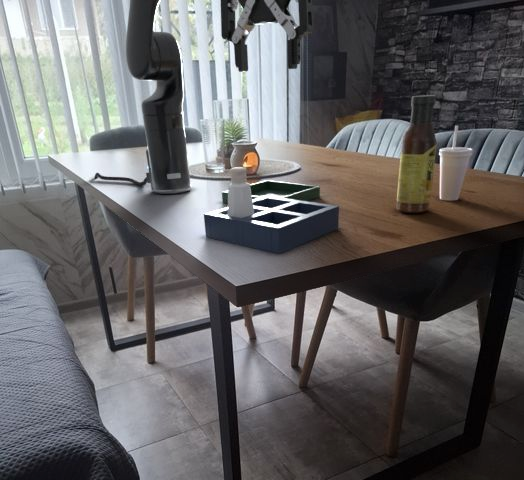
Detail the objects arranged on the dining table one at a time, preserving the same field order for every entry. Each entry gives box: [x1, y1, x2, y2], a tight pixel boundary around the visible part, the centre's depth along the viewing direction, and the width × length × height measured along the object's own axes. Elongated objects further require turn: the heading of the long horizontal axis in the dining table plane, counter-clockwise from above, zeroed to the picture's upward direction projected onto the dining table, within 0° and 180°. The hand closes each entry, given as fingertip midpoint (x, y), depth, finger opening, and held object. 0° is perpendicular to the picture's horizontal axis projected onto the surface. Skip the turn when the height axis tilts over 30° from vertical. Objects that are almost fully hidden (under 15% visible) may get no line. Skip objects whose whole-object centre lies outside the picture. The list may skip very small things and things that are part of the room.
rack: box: [203, 196, 340, 255], centre depth 83 cm, size 16×16×4 cm
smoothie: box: [438, 125, 474, 202], centre depth 98 cm, size 6×6×14 cm
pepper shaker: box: [227, 166, 254, 218], centre depth 81 cm, size 5×5×11 cm
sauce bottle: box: [396, 94, 438, 214], centre depth 89 cm, size 7×6×20 cm
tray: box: [221, 179, 321, 204], centre depth 107 cm, size 15×15×2 cm
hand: (267, 70), depth 76 cm, fingers open, 8 cm apart
